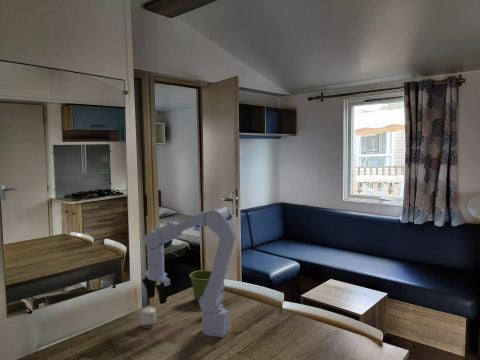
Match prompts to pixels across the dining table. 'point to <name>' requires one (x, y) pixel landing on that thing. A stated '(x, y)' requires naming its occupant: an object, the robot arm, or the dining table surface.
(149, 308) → the cap
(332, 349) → the dining table surface
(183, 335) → the post board
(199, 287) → the plant pot
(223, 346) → the dining table surface
